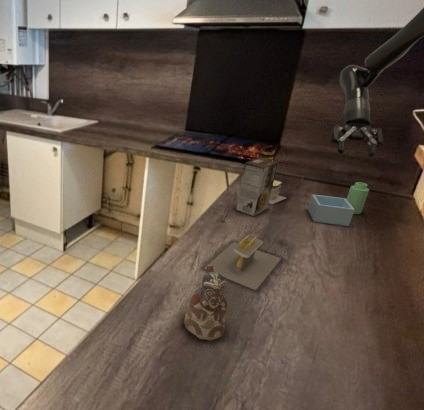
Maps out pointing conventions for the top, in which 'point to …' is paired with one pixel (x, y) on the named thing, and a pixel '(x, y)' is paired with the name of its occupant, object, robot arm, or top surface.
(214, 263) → the platform
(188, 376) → the top surface
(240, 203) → the coffee box
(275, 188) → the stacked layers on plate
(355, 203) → the bottle
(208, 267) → the figurine
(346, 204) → the case
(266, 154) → the condiment
